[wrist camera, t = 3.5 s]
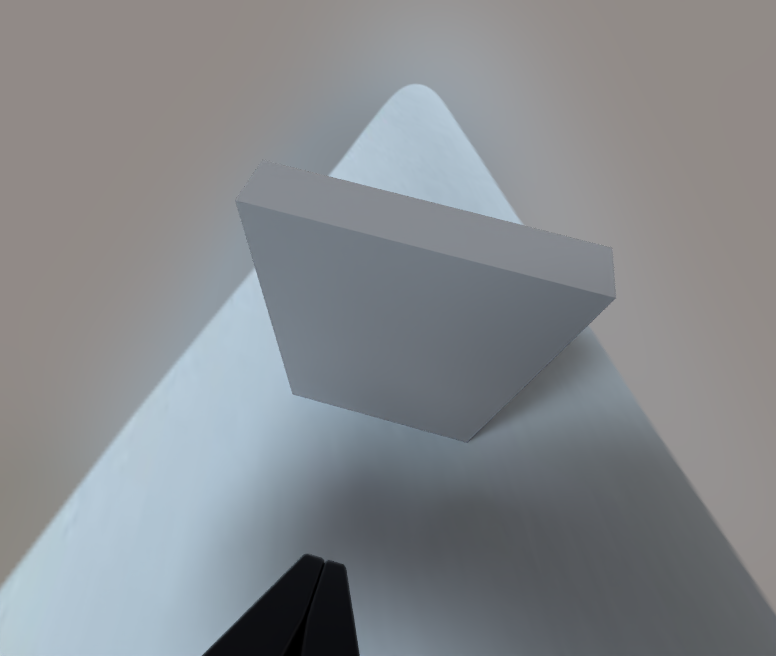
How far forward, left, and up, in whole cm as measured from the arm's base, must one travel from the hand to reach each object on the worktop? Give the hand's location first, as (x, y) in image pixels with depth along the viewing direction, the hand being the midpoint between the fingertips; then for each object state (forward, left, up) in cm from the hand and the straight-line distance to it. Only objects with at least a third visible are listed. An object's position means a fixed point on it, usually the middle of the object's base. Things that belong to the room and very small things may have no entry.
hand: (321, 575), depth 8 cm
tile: (+7, +1, -8) cm, 10 cm away
